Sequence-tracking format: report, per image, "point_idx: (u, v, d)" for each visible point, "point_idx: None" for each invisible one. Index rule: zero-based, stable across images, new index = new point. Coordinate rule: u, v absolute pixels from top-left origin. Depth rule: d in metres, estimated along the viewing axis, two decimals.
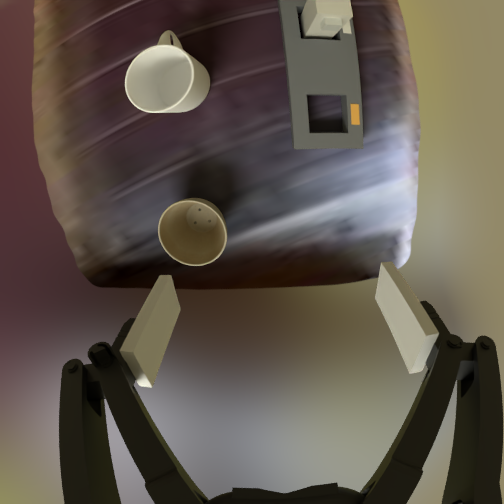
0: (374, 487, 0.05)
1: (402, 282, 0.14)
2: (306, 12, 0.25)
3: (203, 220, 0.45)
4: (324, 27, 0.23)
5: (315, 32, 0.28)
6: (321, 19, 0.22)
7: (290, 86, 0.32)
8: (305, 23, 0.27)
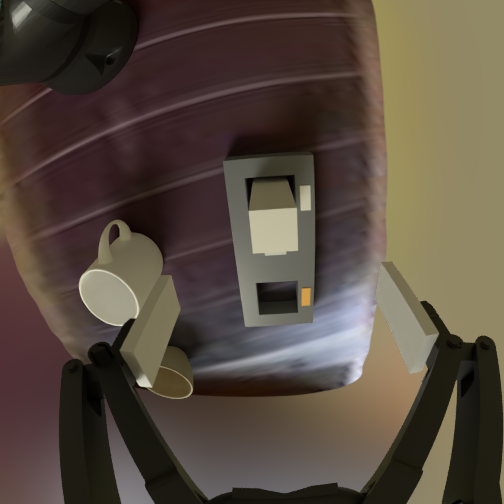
0: (374, 487, 0.05)
1: (402, 282, 0.14)
2: None
3: None
4: None
5: None
6: None
7: (239, 276, 0.37)
8: None
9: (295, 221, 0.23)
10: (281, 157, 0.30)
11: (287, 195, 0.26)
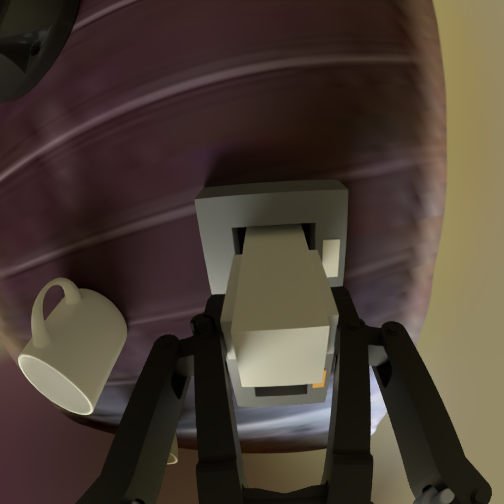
0: (329, 487, 0.05)
1: (319, 268, 0.16)
2: None
3: None
4: None
5: None
6: None
7: (227, 358, 0.25)
8: None
9: (323, 346, 0.11)
10: (294, 193, 0.17)
11: (307, 278, 0.14)
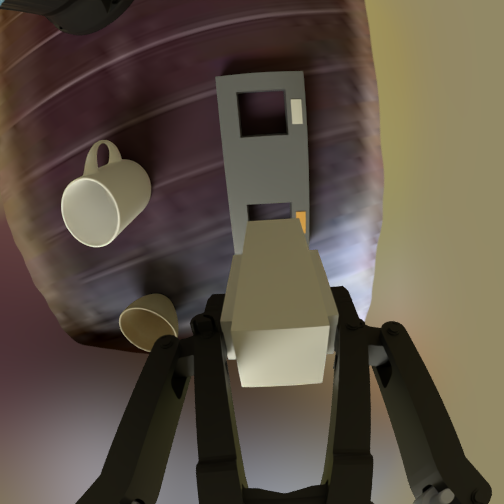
0: (329, 487, 0.05)
1: (319, 268, 0.16)
2: None
3: None
4: None
5: None
6: None
7: (229, 197, 0.34)
8: None
9: (324, 346, 0.11)
10: (272, 72, 0.27)
11: (307, 277, 0.14)
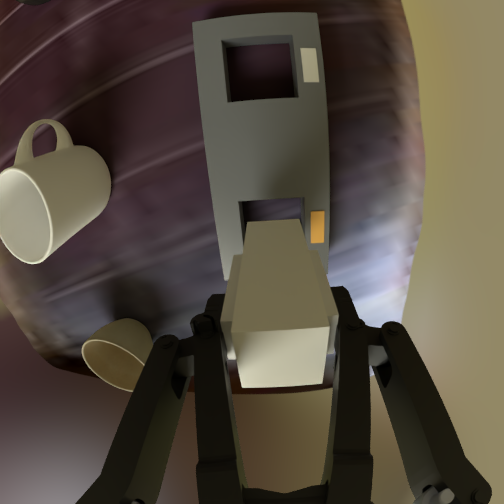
0: (329, 487, 0.05)
1: (319, 268, 0.16)
2: None
3: None
4: None
5: None
6: None
7: (212, 190, 0.23)
8: None
9: (323, 347, 0.11)
10: (272, 14, 0.16)
11: (307, 278, 0.14)
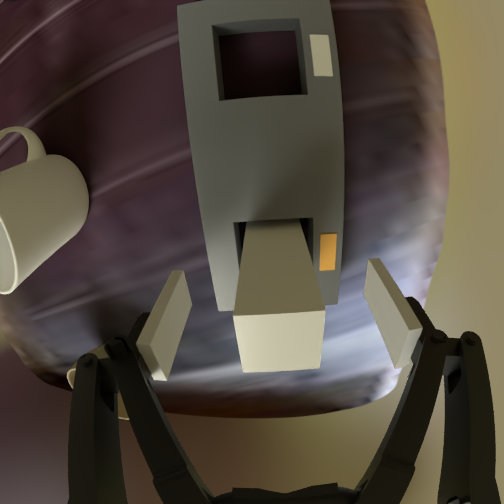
0: (367, 486, 0.05)
1: (388, 278, 0.14)
2: None
3: None
4: None
5: None
6: None
7: (201, 208, 0.19)
8: None
9: (320, 330, 0.12)
10: None
11: (304, 267, 0.15)
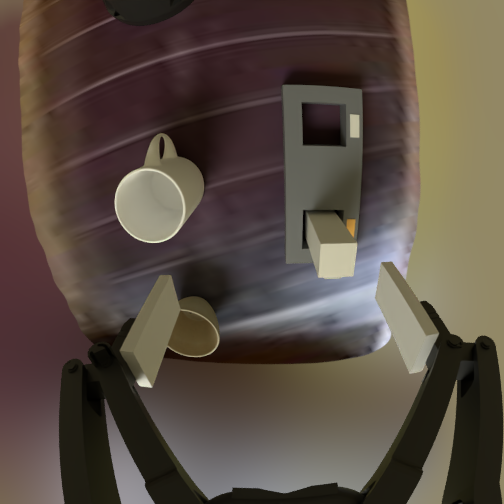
0: (374, 487, 0.05)
1: (402, 282, 0.14)
2: (311, 233, 0.35)
3: None
4: None
5: None
6: None
7: (286, 201, 0.36)
8: (308, 234, 0.37)
9: (354, 253, 0.29)
10: (334, 87, 0.29)
11: (344, 230, 0.31)
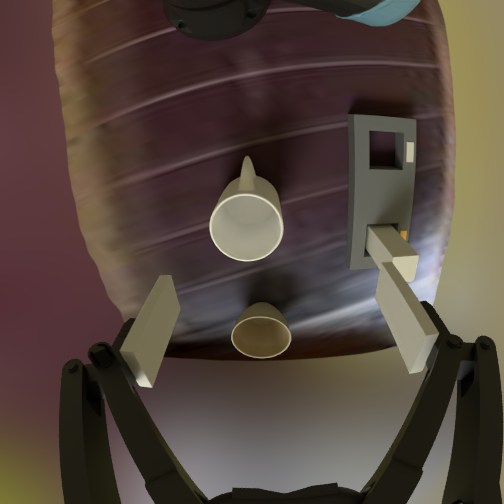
0: (374, 487, 0.05)
1: (402, 282, 0.14)
2: (375, 244, 0.38)
3: None
4: None
5: None
6: None
7: (354, 217, 0.39)
8: (370, 245, 0.41)
9: (416, 263, 0.32)
10: (395, 118, 0.32)
11: (405, 243, 0.35)
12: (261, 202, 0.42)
